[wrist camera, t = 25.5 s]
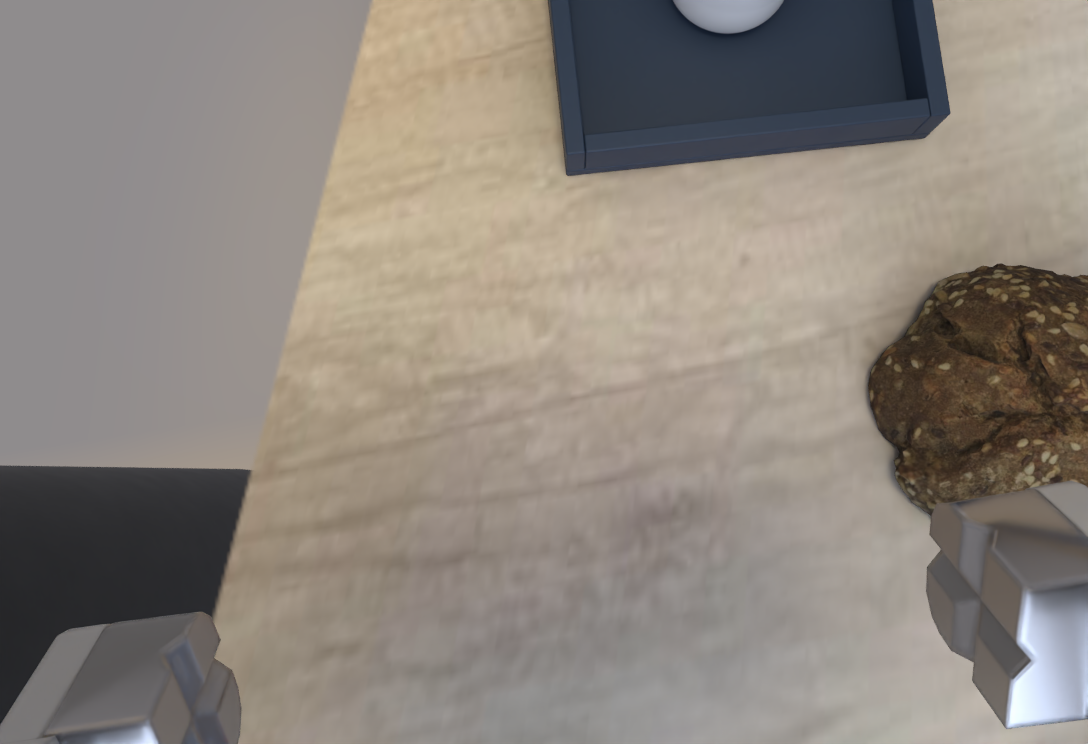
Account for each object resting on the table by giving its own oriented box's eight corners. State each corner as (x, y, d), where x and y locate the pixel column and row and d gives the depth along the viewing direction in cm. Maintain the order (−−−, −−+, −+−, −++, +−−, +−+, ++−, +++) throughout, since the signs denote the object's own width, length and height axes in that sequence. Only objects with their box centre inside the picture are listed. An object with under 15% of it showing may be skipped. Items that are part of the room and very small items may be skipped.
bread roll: (1229, 358, 36) (1333, 339, 31) (1101, 624, 35) (1188, 649, 30) (948, 214, 37) (1006, 175, 32) (815, 469, 36) (854, 468, 31)
